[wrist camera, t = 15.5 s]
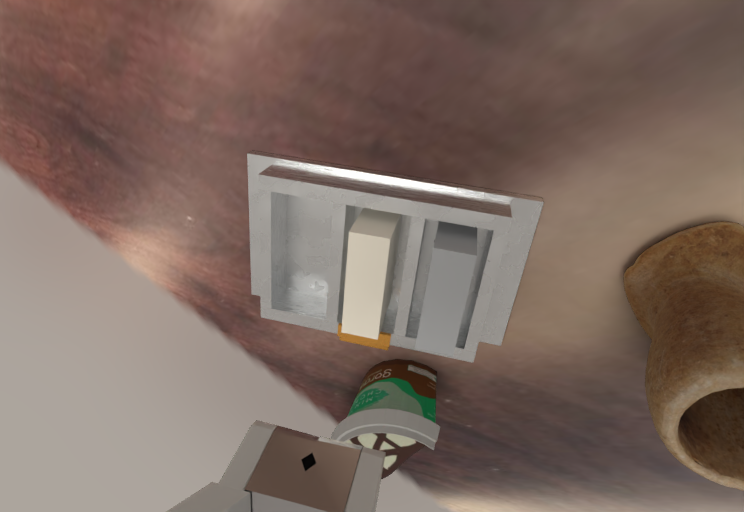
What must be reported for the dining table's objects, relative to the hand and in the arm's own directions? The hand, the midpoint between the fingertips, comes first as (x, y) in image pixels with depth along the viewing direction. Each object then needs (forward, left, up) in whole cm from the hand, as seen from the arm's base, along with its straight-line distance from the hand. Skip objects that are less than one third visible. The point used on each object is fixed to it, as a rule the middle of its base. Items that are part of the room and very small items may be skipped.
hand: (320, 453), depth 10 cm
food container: (+1, +25, -29) cm, 39 cm away
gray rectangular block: (-3, +10, -28) cm, 30 cm away
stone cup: (-23, +10, -29) cm, 39 cm away
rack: (+3, +10, -29) cm, 31 cm away
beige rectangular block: (+3, +10, -28) cm, 30 cm away
